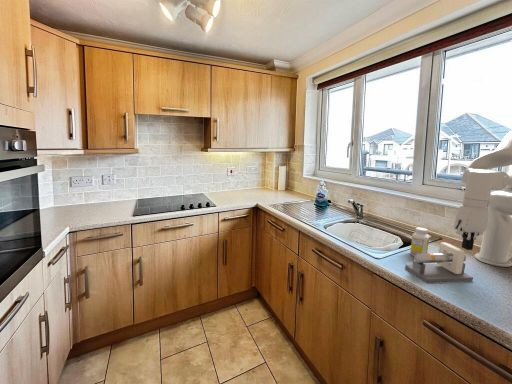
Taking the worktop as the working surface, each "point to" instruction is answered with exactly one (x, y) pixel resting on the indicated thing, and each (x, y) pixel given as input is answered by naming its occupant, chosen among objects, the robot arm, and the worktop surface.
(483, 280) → the worktop surface
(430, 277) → the base board
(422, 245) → the supplement bottle
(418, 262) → the pipe
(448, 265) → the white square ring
